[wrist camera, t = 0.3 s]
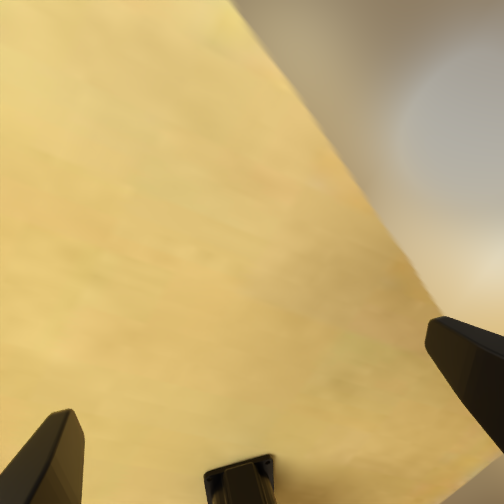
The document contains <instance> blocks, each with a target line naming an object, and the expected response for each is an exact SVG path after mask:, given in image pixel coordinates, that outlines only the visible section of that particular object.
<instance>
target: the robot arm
mask: <svg viewBox="0 0 504 504" xmlns="http://www.w3.org/2000/svg"><path fill="white" fill-rule="evenodd" d="M425 348H426V350H427V352H428V354H429V355H430V357H431V358H432V360H433V361H434V363H435V364H436V365H437V367H438V368H439V370H440V371H441V373H442V374H443V376H444V377H445V379H446V380H447V382H448V383H449V385H450V386H451V387H452V389H453V390H454V392H455V393H456V395H457V396H458V398H459V399H460V400H461V402H462V403H463V404H464V406H465V407H466V408H467V409H468V411H469V412H470V413H471V414H472V416H473V417H474V418H475V419H476V420H477V422H478V423H479V424H480V425H481V427H482V428H483V429H484V430H485V431H486V433H487V434H488V435H489V436H490V437H491V439H492V440H493V441H494V442H495V444H496V445H497V446H498V447H499V448H500V450H501V451H502V452H503V453H504V336H501V335H498V334H495V333H492V332H490V331H486V330H484V329H481V328H478V327H475V326H472V325H470V324H467V323H464V322H461V321H458V320H455V319H453V318H450V317H447V316H442V317H438V318H434V319H431V320H430V321H429V323H428V328H427V333H426V338H425ZM84 449H85V438H84V433H83V430H82V428H81V426H80V423H79V421H78V419H77V416H76V414H75V412H74V411H73V410H72V409H65V410H61V411H57V412H53V413H51V414H50V415H49V416H48V417H47V418H46V419H45V421H44V422H43V423H42V424H41V426H40V427H39V428H38V429H37V430H36V432H35V433H34V434H33V435H32V436H31V438H30V439H29V440H28V441H27V443H26V444H25V445H24V446H23V447H22V449H21V450H20V451H19V452H18V453H17V455H16V456H15V457H14V458H13V460H12V461H11V462H10V463H9V464H8V466H7V467H6V468H5V469H4V470H3V472H2V473H1V474H0V504H81V499H82V482H83V465H84ZM204 484H205V489H206V495H207V501H208V504H277V502H276V499H275V496H274V481H273V460H272V457H271V456H270V455H266V456H262V457H259V458H255V459H252V460H248V461H245V462H241V463H238V464H234V465H231V466H227V467H224V468H220V469H217V470H213V471H210V472H207V473H205V474H204Z"/></svg>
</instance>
